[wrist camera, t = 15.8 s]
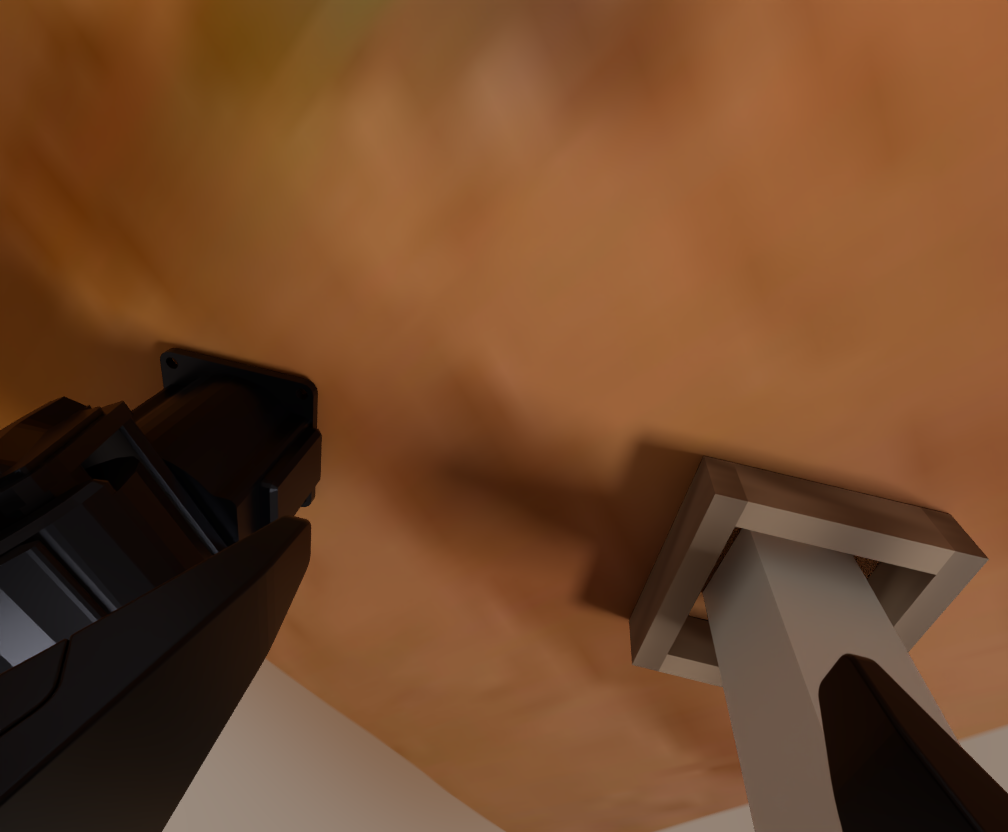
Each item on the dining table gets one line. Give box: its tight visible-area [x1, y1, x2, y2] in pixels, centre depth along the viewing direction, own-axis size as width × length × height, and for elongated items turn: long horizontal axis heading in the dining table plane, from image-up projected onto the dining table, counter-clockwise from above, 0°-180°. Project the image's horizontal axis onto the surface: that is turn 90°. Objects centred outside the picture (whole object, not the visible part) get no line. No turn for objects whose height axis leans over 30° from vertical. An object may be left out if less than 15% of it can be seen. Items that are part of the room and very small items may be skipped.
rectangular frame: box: [629, 456, 989, 687], centre depth 24 cm, size 10×10×2 cm
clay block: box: [703, 528, 961, 832], centre depth 20 cm, size 4×4×12 cm
